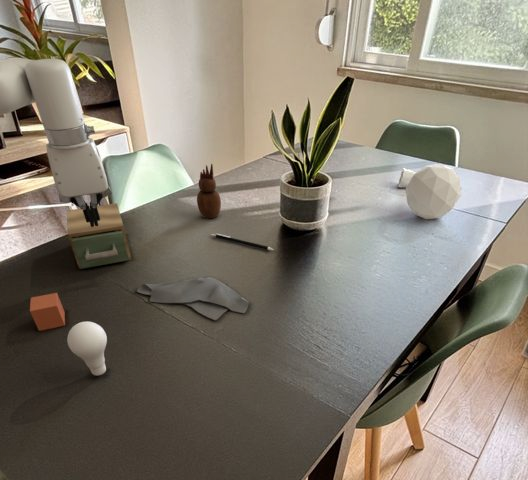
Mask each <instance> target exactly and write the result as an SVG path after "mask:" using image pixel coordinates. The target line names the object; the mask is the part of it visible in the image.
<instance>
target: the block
mask: <svg viewBox="0 0 528 480" xmlns="http://www.w3.org/2000/svg"><path fill="white" fill-rule="evenodd" d="M29 313H30V315H31V317H32V320H33V321H34V324H35V325H36V328H37V331H39V332H41V331H46V330H51V329H55V328H60V327H65V326H66V317H65V316H66V315H65V313H66V312H65V309H64V307H63V304H62V302H61V299H60V297H59V295H58V292H53V293H48V294H43V295H38V296H37V295H36V296H32V297H30V305H29Z"/></svg>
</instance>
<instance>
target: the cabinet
mask: <svg viewBox="0 0 528 480" xmlns="http://www.w3.org/2000/svg"><path fill="white" fill-rule="evenodd" d="M89 208H90V206H89ZM97 209H98V213H99V216H100V220H99V221H98V226H95V224H94V227H91V225H90V222H86V219H85V216H84V213H83V210H81V209H80V208H74V209H69V210H68V209H67V210H66V230H67V237H68V240H69V244H70V246H71V250H72V252H73V255H74V258H75V260H76V263H77V266H78V269H79V270H82V269H81V267H80V264H79V261H78V258H77V255H76V252H75V249H74V246H73V243H72V239H74V238H75V237H76V236H82V235H88V234H95V233H101V232H107V231H113V230H119V231H122V233H123V237H124V241H125V245H126V249H127V253H128V257H129V260H128V261H131V260H133V259H132V256H131V251H130V247H129V243H128V239H127V236H126V232H125V227H124V224H123V219H122V216H121V215H122V214H121V212H120V208H119V205H118V203H108V204H102V205H97ZM92 218H93V217H92ZM121 262H123V261H121ZM121 262H120V263H121Z"/></svg>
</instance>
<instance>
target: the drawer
mask: <svg viewBox="0 0 528 480" xmlns="http://www.w3.org/2000/svg"><path fill="white" fill-rule="evenodd" d="M72 243H73V246H74V249H75V252H76V255H77V258H78V261H79V264H80V267H81V269H80V270H83V269H88V268H93V267H98V266H103V265H104V266H105V265H109V264H116V263H121V261H122V262H127V261H130V260H129V257H128V253H127V249H126V245H125V241H124V237H123V233H122V231H119V230H113V231H107V232H101V233H95V234H88V235H82V236H76V237H75V238H74V239H72Z"/></svg>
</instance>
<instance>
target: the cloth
mask: <svg viewBox="0 0 528 480" xmlns="http://www.w3.org/2000/svg"><path fill="white" fill-rule="evenodd" d="M136 292H137V293H138V294H141V295H146V296H150V298H149V301H148V302H150V303H159V304H180V305H185V306H188V307H191V308H192V309H193V310H194V311H195V312H197V313H198V314H200V315H202V316H203V317H206V318H208V319H211V320H213V321H218V320H219V318H221V317H222V315H224V314H225V313H226V312H227V311H228V310H230V311H231V312H234V313H240V314H246V312H247V310H248V309H249V308H248V307H249V304H250V302H249V301H248V300H247V299H245V298H244V297H243V296H241V295H240V294H239V293H237V292H236V291H235V290H234V289H232V288H230V286H228V285H227V284H225V283H224V282H221V280H219V279H217V278H214V277H212V276H207V277H199V276H198V277H193V278H189V279H178V280H177V279H176V280H171V281H166V282H161V283H143V284H141V285H140V286H139V287H138V288H137V289H136Z"/></svg>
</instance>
